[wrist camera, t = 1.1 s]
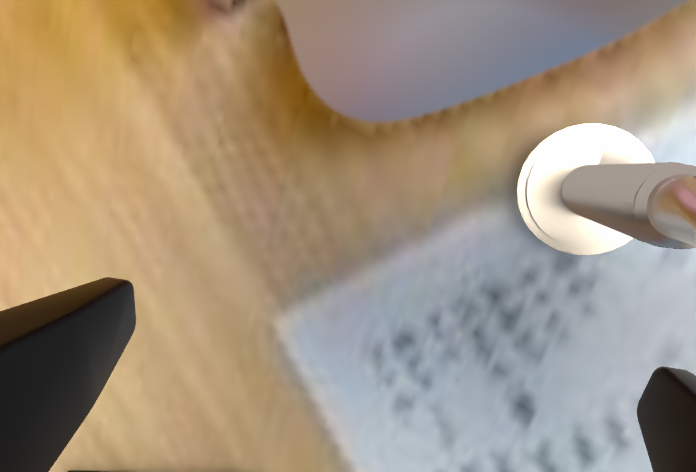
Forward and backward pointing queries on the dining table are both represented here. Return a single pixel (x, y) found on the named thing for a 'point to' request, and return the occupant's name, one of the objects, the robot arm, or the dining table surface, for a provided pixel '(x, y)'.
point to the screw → (605, 193)
